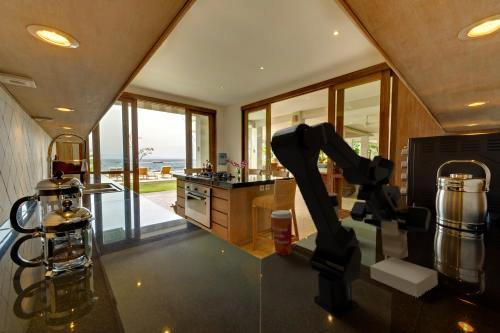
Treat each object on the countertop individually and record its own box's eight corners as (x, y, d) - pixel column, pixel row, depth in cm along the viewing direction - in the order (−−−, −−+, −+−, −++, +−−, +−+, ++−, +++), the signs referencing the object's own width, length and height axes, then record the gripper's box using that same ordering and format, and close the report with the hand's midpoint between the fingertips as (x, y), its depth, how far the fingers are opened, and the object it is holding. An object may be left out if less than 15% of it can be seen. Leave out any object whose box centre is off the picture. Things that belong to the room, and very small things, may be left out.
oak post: (399, 259, 57) (396, 212, 58) (382, 254, 61) (380, 210, 62) (407, 255, 59) (404, 210, 60) (391, 251, 63) (388, 208, 64)
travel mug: (336, 241, 80) (333, 195, 81) (316, 237, 85) (314, 194, 86) (343, 236, 86) (340, 193, 86) (324, 232, 91) (322, 192, 92)
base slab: (417, 298, 44) (416, 283, 44) (370, 277, 52) (370, 266, 53) (437, 284, 48) (436, 271, 49) (392, 267, 57) (391, 256, 57)
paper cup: (268, 252, 71) (266, 212, 72) (280, 246, 77) (278, 209, 77) (287, 258, 66) (285, 215, 66) (299, 251, 72) (297, 211, 72)
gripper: (426, 176, 51) (441, 214, 57) (352, 176, 66) (371, 206, 72) (416, 212, 46) (435, 249, 52) (340, 203, 62) (361, 233, 67)
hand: (395, 231), depth 61 cm, fingers closed on oak post, 5 cm apart
